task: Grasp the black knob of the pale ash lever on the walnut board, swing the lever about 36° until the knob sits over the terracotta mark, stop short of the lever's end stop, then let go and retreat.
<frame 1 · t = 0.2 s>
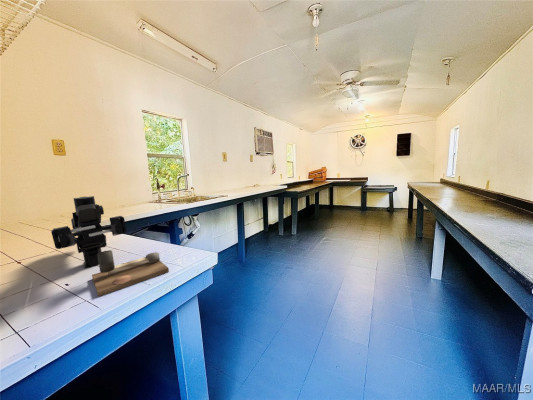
hand: (95, 237, 66), 16 cm above the counter, tool horizontal, fingers open, 9 cm apart
board: (131, 275, 75), on the counter
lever: (131, 256, 77), point 6 cm above the counter, hinge at 0.0°
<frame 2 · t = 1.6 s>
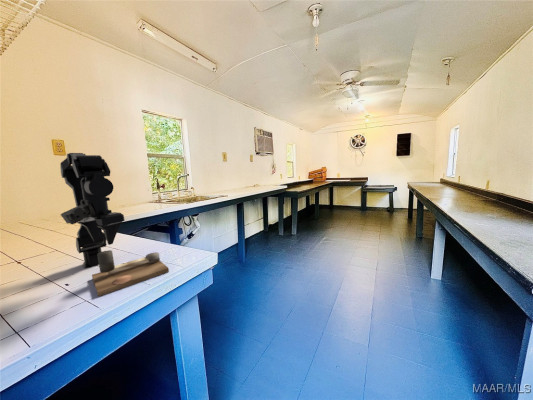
hand: (102, 242, 71), 13 cm above the counter, tool pointing down, fingers open, 9 cm apart
nothing on the counter moved.
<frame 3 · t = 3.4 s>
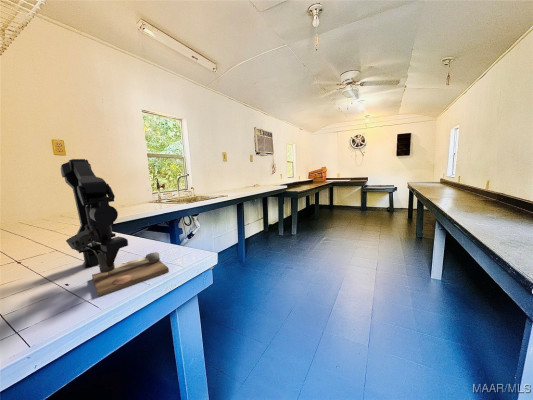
hand: (106, 265, 72), 5 cm above the counter, tool pointing down, fingers closed on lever, 4 cm apart
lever: (131, 256, 77), point 6 cm above the counter, hinge at 0.0°, touching gripper
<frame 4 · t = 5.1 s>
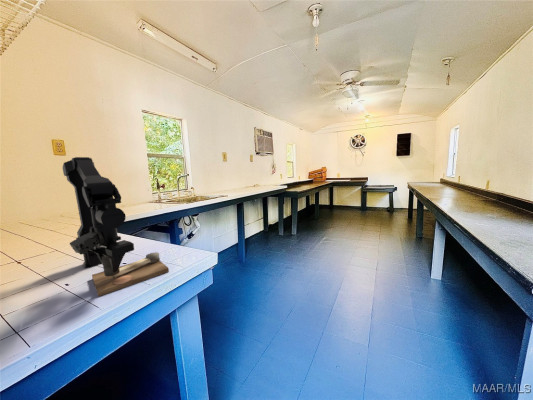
hand: (110, 269, 69), 5 cm above the counter, tool pointing down, fingers open, 5 cm apart
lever: (133, 258, 76), point 6 cm above the counter, hinge at 17.8°, touching gripper
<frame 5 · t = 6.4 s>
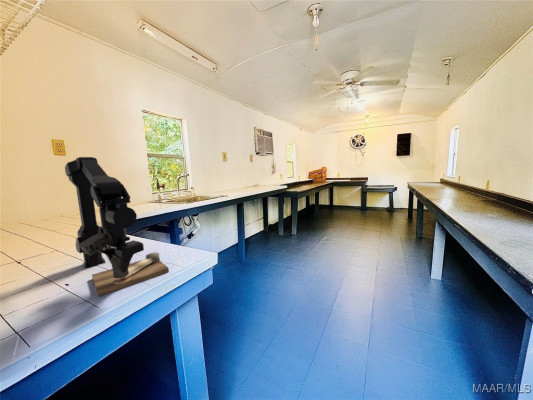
hand: (120, 270, 68), 5 cm above the counter, tool pointing down, fingers closed on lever, 4 cm apart
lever: (137, 258, 75), point 6 cm above the counter, hinge at 34.8°, touching gripper
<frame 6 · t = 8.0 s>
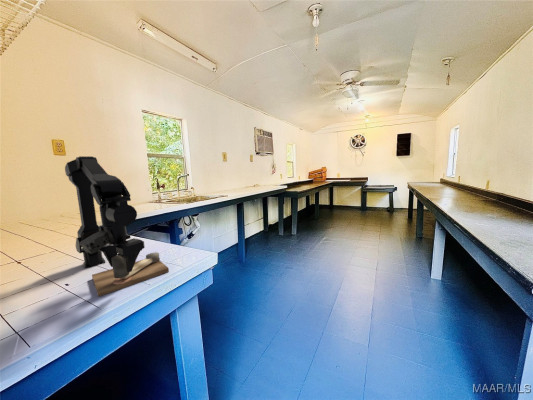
hand: (121, 269, 68), 6 cm above the counter, tool pointing down, fingers open, 9 cm apart
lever: (138, 258, 75), point 6 cm above the counter, hinge at 35.5°
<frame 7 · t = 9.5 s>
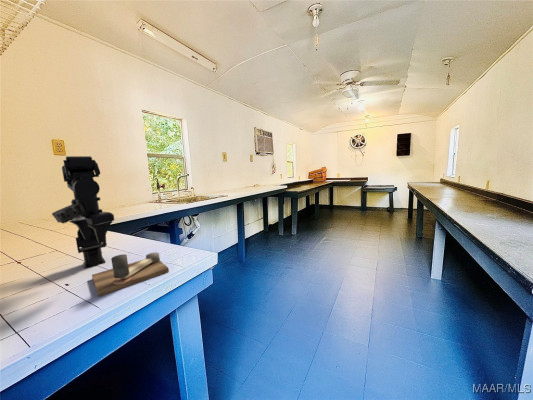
hand: (93, 241, 73), 13 cm above the counter, tool pointing down, fingers open, 9 cm apart
nothing on the counter moved.
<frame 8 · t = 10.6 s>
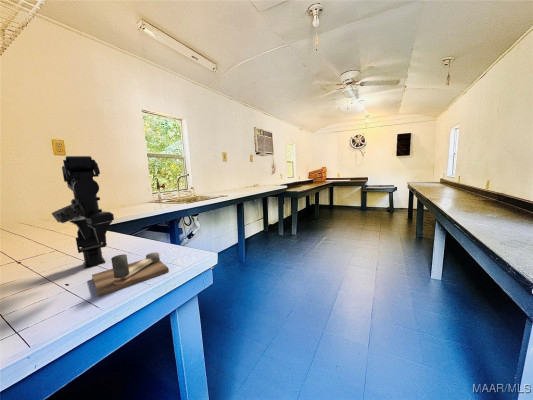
hand: (93, 240, 73), 13 cm above the counter, tool pointing down, fingers open, 9 cm apart
nothing on the counter moved.
at the end: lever at +36° (first picture: +0°); the gripper is holding nothing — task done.
